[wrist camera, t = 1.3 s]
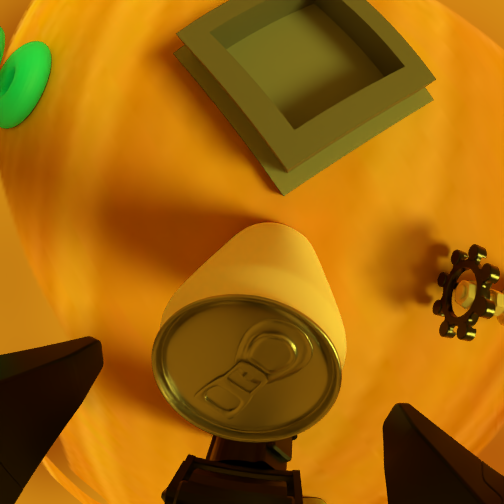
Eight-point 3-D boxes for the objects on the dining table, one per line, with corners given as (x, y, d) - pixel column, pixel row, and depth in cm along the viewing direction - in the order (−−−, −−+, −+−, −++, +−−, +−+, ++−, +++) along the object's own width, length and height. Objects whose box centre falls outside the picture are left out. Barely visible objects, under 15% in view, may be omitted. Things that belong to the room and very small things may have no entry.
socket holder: (283, 195, 18) (282, 197, 14) (177, 58, 16) (155, 35, 12) (427, 103, 15) (454, 88, 11) (316, -17, 13) (319, -47, 9)
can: (337, 262, 18) (400, 369, 7) (276, 329, 20) (259, 468, 8) (261, 200, 18) (215, 222, 6) (204, 274, 20) (111, 375, 8)
